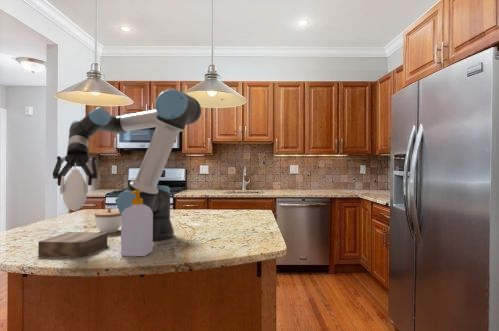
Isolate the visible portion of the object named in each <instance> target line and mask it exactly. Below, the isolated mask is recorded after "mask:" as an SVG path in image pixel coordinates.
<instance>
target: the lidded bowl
mask: <svg viewBox="0 0 499 331" xmlns="http://www.w3.org/2000/svg"><path fill="white" fill-rule="evenodd" d="M94 223H95V226H96V229H97V230H99V231H100V233H107V234H110V233H116V232H118V230H119V229H121V214H120V213H119V210H111V208H107V210H105V211H97V212H94Z"/></svg>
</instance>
